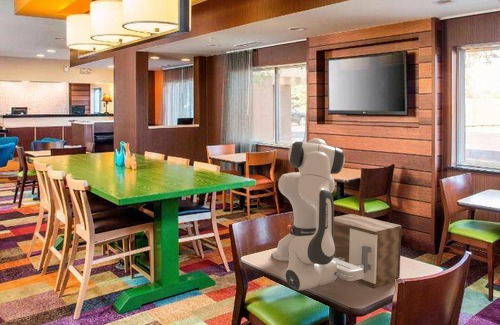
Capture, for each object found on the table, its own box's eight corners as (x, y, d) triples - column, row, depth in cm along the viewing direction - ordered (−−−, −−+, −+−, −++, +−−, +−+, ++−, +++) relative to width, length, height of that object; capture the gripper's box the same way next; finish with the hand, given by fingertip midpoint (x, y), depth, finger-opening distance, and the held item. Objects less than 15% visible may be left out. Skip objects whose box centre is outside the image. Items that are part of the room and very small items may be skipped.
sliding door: (367, 286, 180) (369, 236, 178) (342, 276, 190) (343, 229, 188) (376, 283, 183) (377, 234, 180) (350, 273, 193) (351, 227, 191)
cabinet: (373, 288, 182) (375, 231, 179) (324, 269, 203) (325, 218, 200) (399, 279, 191) (401, 225, 188) (350, 262, 212) (351, 213, 209)
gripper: (347, 270, 161) (374, 262, 169) (306, 254, 177) (333, 248, 185) (347, 288, 162) (374, 279, 170) (306, 271, 178) (332, 264, 186)
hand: (352, 263), depth 178 cm, fingers open, 8 cm apart
